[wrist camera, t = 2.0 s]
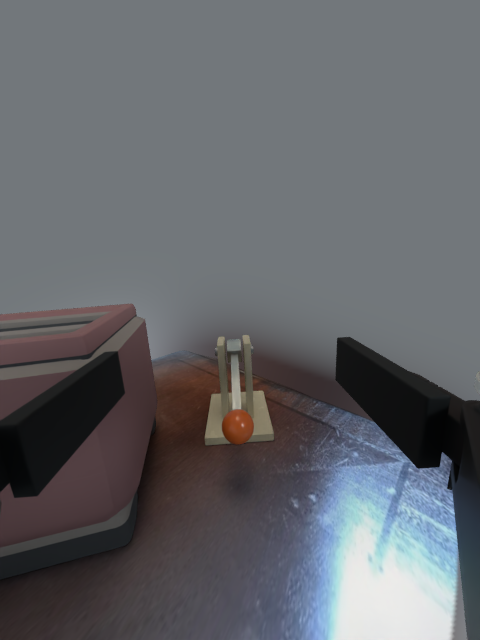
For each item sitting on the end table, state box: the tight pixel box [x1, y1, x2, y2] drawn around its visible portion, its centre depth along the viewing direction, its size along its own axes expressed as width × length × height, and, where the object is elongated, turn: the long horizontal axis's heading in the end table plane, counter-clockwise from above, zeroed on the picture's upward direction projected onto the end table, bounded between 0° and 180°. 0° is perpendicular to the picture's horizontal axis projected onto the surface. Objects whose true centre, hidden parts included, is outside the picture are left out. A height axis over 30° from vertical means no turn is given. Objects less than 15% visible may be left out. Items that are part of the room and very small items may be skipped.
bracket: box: [205, 335, 274, 445], centre depth 38 cm, size 12×10×14 cm
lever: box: [222, 339, 254, 445], centre depth 31 cm, size 16×4×4 cm, turn 2°
